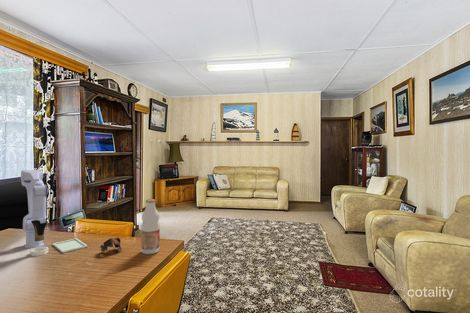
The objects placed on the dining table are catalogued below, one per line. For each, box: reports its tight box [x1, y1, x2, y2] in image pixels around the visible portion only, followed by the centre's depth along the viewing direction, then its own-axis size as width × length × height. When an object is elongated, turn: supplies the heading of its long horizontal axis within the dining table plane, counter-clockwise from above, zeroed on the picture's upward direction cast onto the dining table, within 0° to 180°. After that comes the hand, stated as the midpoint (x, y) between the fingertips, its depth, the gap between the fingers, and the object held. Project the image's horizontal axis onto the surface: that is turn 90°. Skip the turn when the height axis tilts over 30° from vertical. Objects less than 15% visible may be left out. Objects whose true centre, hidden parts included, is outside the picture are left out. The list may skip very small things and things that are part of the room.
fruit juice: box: [140, 198, 161, 255], centre depth 140 cm, size 9×9×28 cm
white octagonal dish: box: [29, 246, 49, 257], centre depth 134 cm, size 7×7×2 cm
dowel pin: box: [35, 226, 45, 242], centre depth 134 cm, size 4×4×8 cm
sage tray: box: [52, 238, 89, 254], centre depth 145 cm, size 18×12×2 cm, turn 49°
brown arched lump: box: [99, 237, 122, 254], centre depth 140 cm, size 12×10×8 cm
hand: (39, 234), depth 134 cm, fingers closed on dowel pin, 4 cm apart
